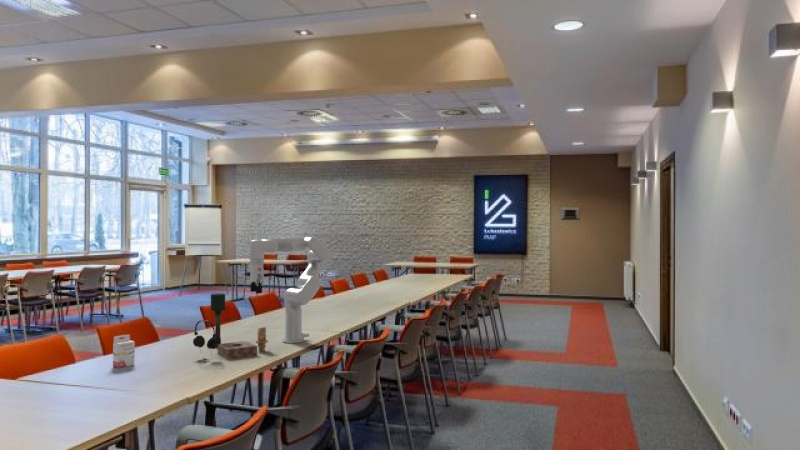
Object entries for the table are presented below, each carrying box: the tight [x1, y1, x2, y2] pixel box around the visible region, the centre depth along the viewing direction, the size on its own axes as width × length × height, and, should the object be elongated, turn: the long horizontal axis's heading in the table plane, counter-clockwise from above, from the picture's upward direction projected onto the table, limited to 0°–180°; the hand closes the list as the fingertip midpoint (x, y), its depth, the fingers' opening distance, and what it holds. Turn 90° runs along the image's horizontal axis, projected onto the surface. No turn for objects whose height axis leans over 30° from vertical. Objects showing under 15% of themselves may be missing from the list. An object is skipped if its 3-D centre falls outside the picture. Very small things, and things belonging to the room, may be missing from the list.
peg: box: [255, 326, 269, 352], centre depth 313 cm, size 6×6×13 cm
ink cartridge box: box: [112, 334, 136, 369], centre depth 279 cm, size 9×5×15 cm, turn 145°
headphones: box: [192, 319, 219, 364], centre depth 291 cm, size 15×11×20 cm
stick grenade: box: [209, 292, 227, 349], centre depth 322 cm, size 8×9×30 cm
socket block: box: [217, 340, 258, 360], centre depth 304 cm, size 16×16×5 cm
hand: (256, 292), depth 320 cm, fingers open, 9 cm apart
